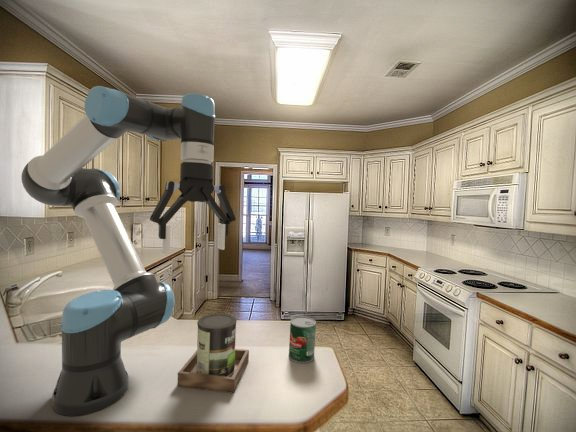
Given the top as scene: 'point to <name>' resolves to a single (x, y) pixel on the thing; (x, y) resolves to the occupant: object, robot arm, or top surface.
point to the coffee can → (216, 345)
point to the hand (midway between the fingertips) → (195, 251)
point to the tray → (213, 382)
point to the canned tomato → (302, 339)
